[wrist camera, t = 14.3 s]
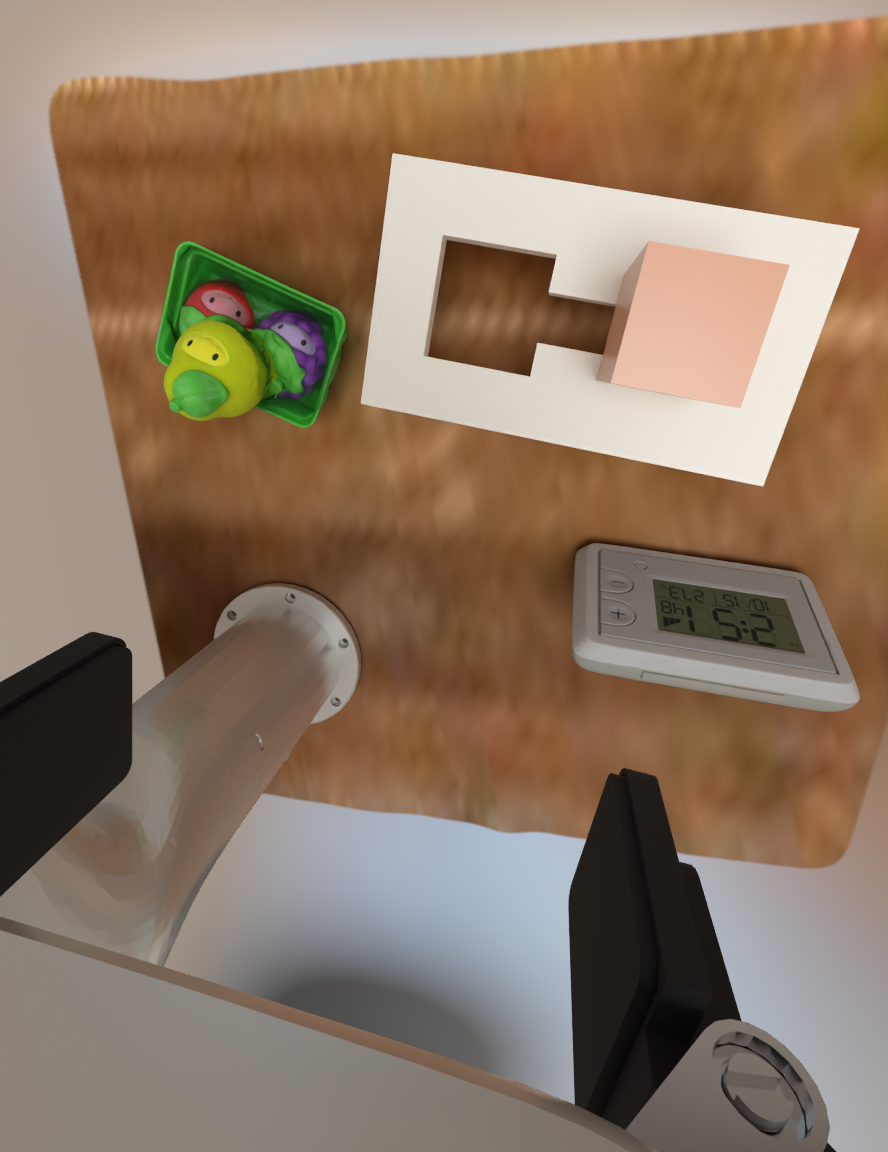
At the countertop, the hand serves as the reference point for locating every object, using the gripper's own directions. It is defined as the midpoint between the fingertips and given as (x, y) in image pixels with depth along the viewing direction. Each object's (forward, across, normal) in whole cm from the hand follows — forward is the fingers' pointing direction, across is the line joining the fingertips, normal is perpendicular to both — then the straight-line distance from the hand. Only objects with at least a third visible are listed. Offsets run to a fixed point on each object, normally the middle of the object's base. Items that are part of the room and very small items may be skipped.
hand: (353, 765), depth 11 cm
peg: (+28, -7, -10) cm, 30 cm away
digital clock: (+34, -15, +5) cm, 37 cm away
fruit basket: (+34, +17, -6) cm, 38 cm away
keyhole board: (+33, -3, -10) cm, 35 cm away
